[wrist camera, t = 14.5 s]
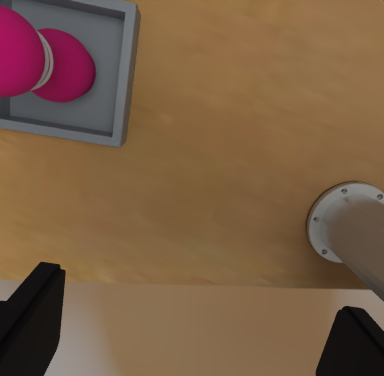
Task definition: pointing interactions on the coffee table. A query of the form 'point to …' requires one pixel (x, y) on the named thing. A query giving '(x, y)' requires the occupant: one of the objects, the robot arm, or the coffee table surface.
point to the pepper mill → (42, 61)
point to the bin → (105, 71)
